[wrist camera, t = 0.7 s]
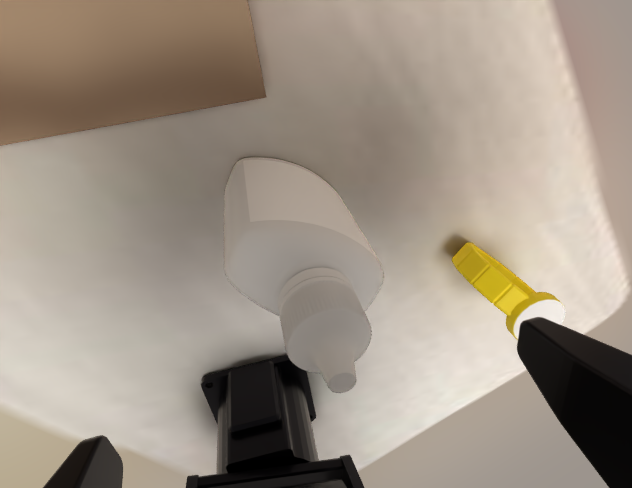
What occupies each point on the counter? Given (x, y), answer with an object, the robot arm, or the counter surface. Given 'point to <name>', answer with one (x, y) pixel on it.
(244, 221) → the eye dropper bottle
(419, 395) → the counter surface
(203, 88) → the step riser
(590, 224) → the counter surface
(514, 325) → the watch
